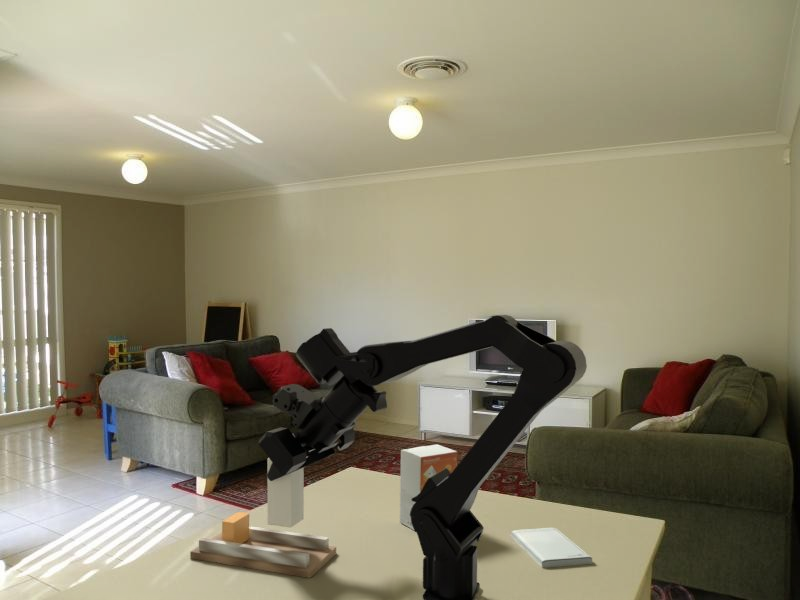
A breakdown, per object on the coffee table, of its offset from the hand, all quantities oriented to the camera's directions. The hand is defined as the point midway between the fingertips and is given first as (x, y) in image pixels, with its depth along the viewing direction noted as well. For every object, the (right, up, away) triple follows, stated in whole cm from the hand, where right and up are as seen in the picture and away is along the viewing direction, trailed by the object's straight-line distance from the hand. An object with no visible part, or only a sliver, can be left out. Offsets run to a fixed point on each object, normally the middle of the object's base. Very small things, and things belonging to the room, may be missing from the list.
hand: (278, 474), depth 97 cm
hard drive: (+43, -13, +3) cm, 45 cm away
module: (+1, -7, 0) cm, 7 cm away
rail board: (-2, -12, -1) cm, 12 cm away
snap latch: (-7, -11, +1) cm, 13 cm away
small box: (+24, -13, +13) cm, 30 cm away
